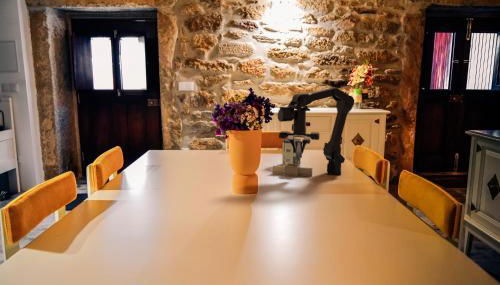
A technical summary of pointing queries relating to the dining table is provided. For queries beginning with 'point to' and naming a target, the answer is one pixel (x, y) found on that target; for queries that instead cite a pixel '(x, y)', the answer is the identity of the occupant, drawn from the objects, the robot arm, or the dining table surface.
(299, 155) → the pin
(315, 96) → the robot arm
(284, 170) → the wooden box with arms
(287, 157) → the coffee can
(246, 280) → the dining table surface
